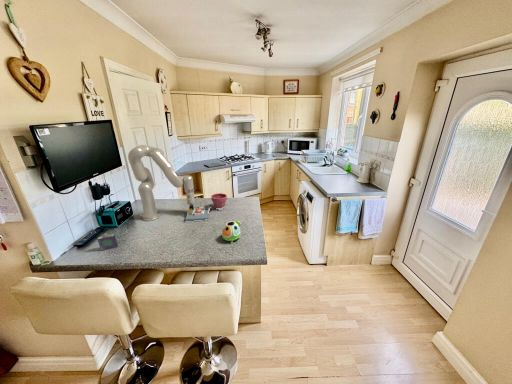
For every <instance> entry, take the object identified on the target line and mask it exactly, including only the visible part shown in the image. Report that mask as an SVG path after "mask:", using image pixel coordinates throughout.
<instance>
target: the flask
mask: <svg viewBox="0 0 512 384" xmlns="http://www.w3.org/2000/svg"><path fill="white" fill-rule="evenodd" d="M97 242H98V246H99V249H100V251H107V250H110V249H115V248H118V246H119V245H118V242H117V239H116V236H115V234H107V232H106V233H104V234H103V235H102V236H98V237H97Z"/></svg>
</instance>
